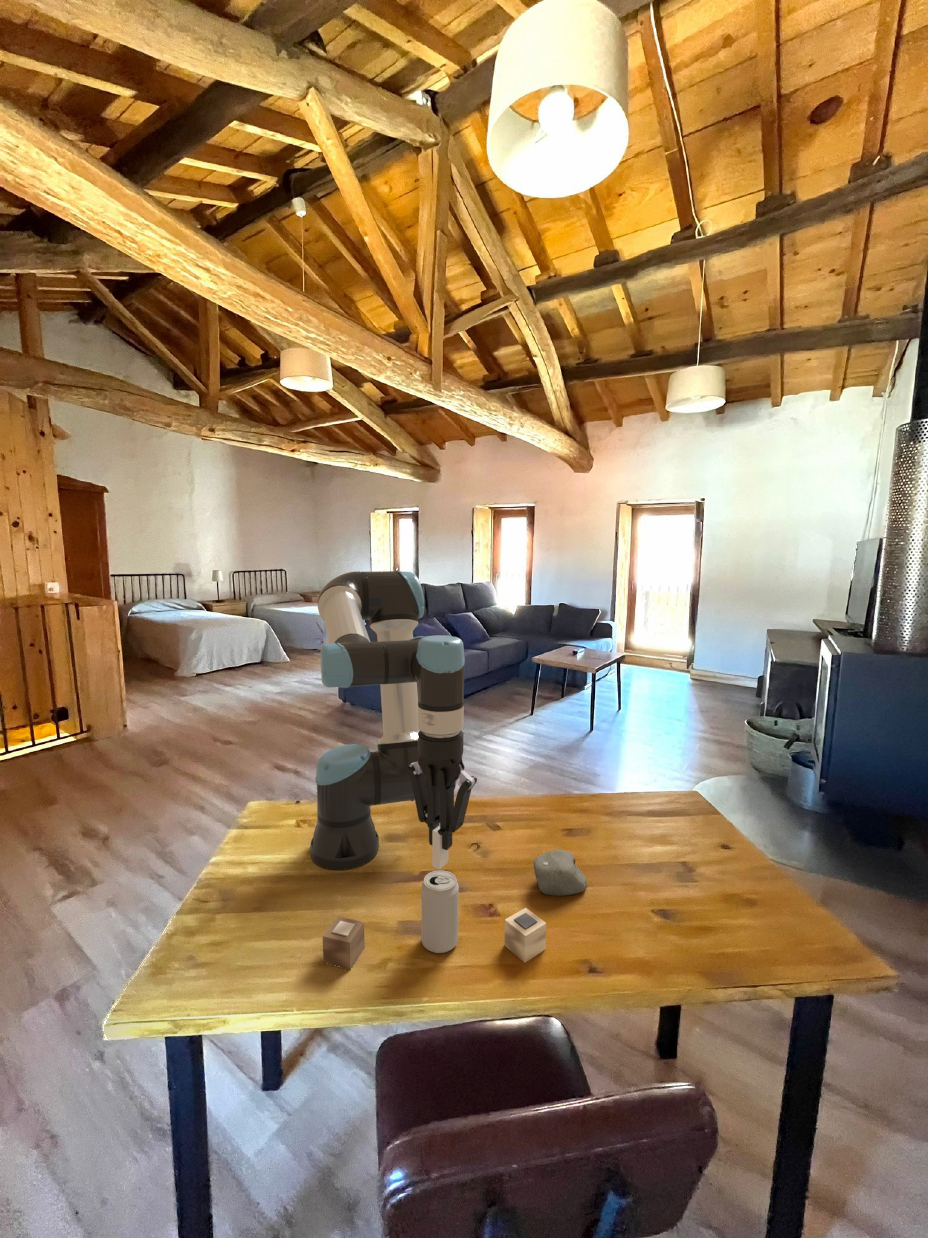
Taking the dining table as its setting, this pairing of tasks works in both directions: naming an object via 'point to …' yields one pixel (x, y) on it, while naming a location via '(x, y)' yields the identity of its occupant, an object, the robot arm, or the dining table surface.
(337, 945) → the walnut block
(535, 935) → the beech block
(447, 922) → the beverage can
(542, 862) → the stone
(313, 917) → the dining table surface
